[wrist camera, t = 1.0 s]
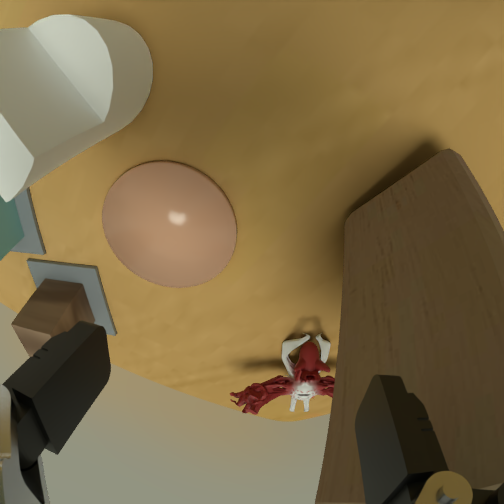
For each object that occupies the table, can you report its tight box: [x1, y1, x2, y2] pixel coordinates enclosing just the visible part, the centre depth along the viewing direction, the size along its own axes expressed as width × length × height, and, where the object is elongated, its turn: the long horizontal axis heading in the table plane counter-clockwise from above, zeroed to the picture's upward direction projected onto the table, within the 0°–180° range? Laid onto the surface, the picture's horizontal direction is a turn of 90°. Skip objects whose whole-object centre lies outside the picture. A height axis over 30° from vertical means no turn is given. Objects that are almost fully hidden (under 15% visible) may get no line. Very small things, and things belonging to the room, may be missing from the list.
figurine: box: [230, 333, 335, 415], centre depth 29 cm, size 15×12×7 cm
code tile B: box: [10, 187, 46, 255], centre depth 25 cm, size 9×9×1 cm
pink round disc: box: [102, 161, 237, 288], centre depth 25 cm, size 11×11×1 cm
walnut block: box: [11, 278, 95, 357], centre depth 27 cm, size 5×5×7 cm
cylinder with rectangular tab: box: [0, 14, 153, 202], centre depth 13 cm, size 9×9×12 cm
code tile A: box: [27, 259, 117, 336], centre depth 30 cm, size 9×9×1 cm
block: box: [315, 149, 504, 504], centre depth 15 cm, size 10×10×20 cm
